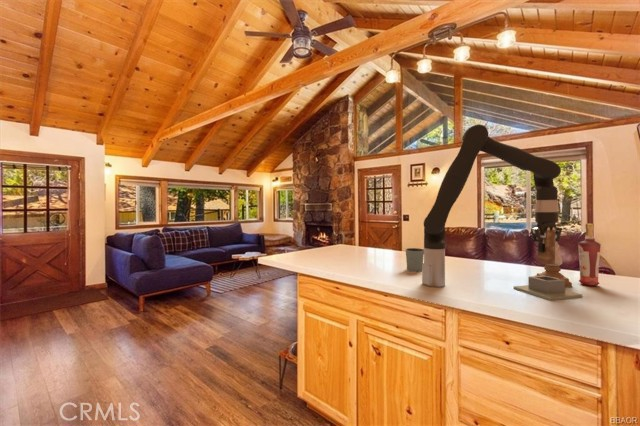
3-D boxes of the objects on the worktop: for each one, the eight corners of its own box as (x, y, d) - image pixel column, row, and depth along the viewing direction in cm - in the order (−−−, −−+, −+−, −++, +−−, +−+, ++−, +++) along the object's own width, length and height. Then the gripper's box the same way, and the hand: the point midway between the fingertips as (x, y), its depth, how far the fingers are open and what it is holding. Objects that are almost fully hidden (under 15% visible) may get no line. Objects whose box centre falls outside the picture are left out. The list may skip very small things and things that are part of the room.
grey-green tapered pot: (416, 267, 170) (416, 247, 170) (428, 271, 161) (427, 250, 160) (402, 269, 167) (401, 248, 167) (412, 272, 157) (412, 251, 157)
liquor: (604, 287, 125) (604, 224, 124) (582, 286, 127) (583, 224, 126) (594, 283, 132) (595, 223, 131) (574, 282, 134) (575, 223, 133)
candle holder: (560, 280, 137) (561, 231, 136) (572, 287, 127) (573, 233, 126) (533, 279, 141) (534, 231, 140) (543, 285, 130) (543, 233, 130)
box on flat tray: (549, 300, 110) (550, 285, 110) (513, 288, 125) (513, 275, 125) (582, 296, 113) (582, 282, 113) (542, 286, 129) (543, 272, 129)
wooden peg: (547, 264, 117) (547, 230, 116) (537, 262, 121) (537, 229, 120) (554, 263, 117) (555, 230, 117) (545, 262, 121) (545, 229, 121)
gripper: (541, 211, 113) (541, 254, 114) (569, 210, 116) (569, 252, 117) (524, 211, 121) (524, 251, 121) (551, 210, 124) (551, 249, 124)
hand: (546, 251), depth 119 cm, fingers closed on wooden peg, 4 cm apart
